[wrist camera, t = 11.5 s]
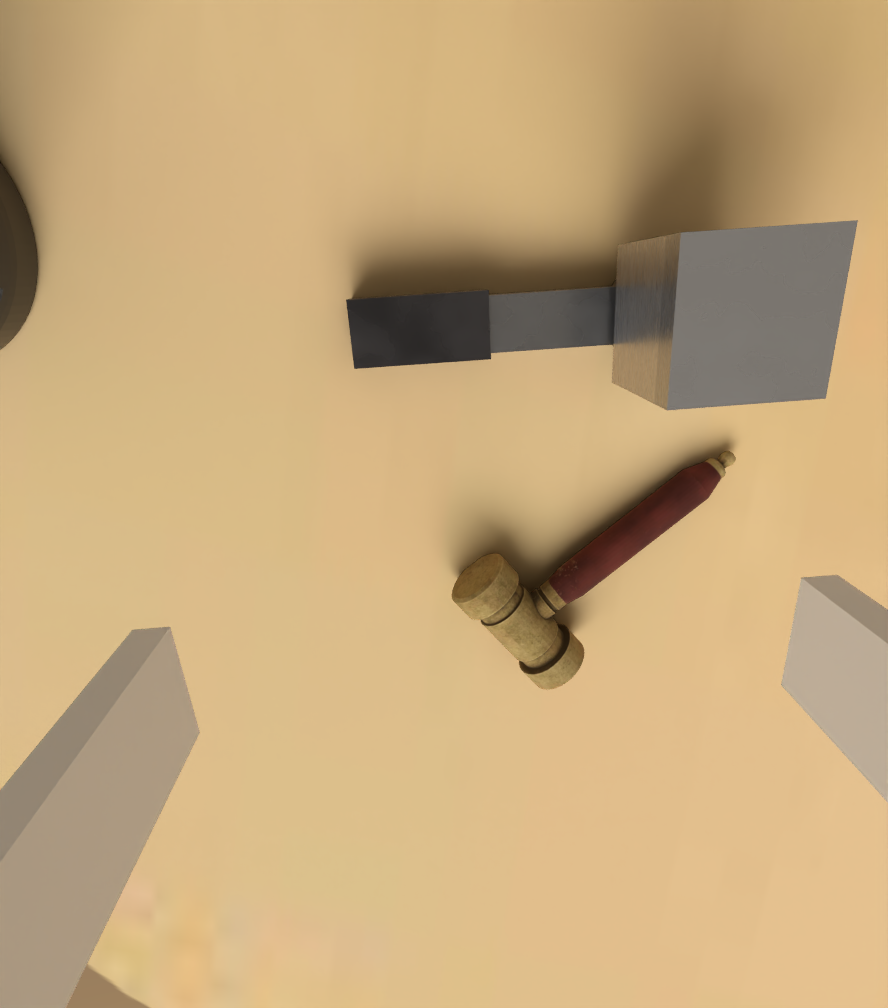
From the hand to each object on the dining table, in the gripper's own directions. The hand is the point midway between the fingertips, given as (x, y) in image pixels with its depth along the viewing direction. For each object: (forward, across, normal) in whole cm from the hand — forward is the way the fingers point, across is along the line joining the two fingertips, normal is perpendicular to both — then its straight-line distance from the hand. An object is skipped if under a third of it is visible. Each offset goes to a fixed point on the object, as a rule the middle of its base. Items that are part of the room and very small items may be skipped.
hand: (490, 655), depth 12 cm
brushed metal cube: (+24, +14, +5) cm, 28 cm away
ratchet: (+27, +6, +5) cm, 28 cm away
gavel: (+27, +11, -11) cm, 31 cm away
